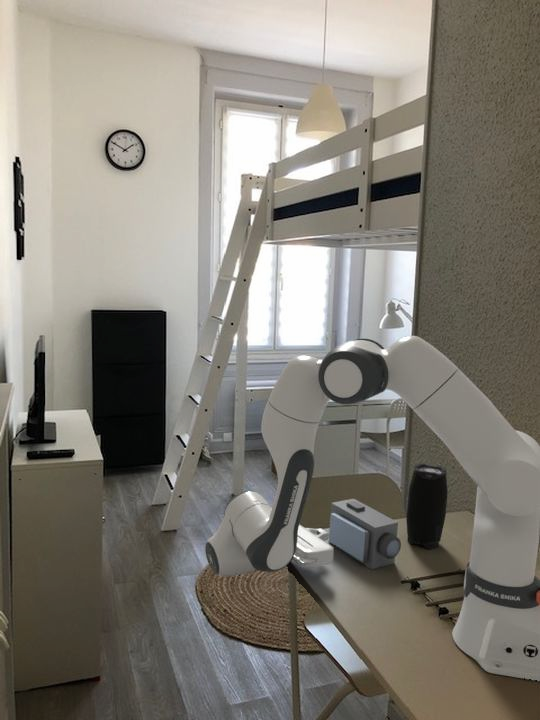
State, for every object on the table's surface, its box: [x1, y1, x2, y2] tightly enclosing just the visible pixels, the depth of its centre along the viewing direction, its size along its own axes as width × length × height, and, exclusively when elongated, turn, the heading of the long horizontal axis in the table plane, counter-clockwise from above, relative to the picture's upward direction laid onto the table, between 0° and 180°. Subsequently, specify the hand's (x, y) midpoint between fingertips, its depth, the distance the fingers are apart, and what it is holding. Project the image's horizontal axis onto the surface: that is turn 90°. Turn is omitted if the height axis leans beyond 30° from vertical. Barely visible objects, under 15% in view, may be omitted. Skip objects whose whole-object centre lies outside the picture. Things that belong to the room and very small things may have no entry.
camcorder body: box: [330, 498, 402, 570], centre depth 145 cm, size 19×7×11 cm, turn 32°
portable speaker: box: [405, 463, 449, 550], centre depth 153 cm, size 9×9×20 cm
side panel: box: [328, 513, 370, 563], centre depth 143 cm, size 13×1×7 cm, turn 35°
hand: (325, 533), depth 142 cm, fingers closed
